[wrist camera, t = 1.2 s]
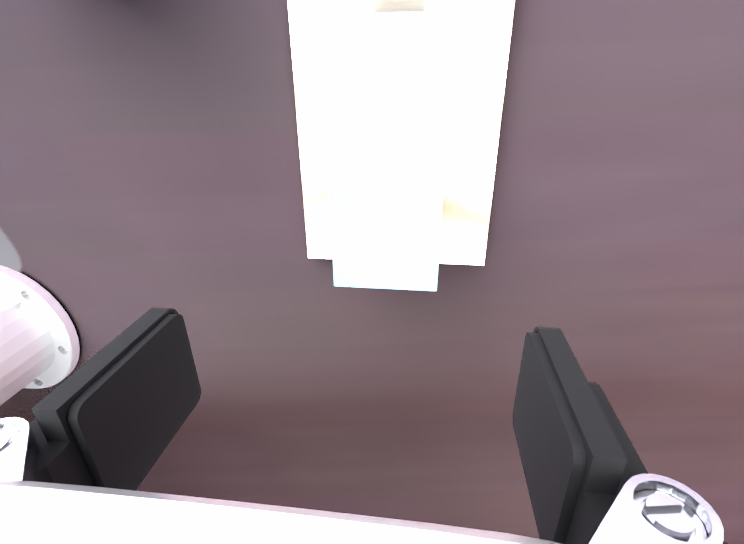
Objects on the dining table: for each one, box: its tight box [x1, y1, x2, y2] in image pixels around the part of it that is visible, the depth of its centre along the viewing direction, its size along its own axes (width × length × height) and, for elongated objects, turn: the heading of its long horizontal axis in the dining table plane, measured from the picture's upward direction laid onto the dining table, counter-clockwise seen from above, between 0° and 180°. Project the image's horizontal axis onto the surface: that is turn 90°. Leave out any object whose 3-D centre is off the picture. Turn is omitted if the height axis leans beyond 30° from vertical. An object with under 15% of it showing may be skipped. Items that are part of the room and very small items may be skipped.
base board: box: [287, 0, 515, 266], centre depth 25 cm, size 20×12×2 cm, turn 1°
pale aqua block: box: [329, 160, 443, 291], centre depth 24 cm, size 5×5×7 cm
